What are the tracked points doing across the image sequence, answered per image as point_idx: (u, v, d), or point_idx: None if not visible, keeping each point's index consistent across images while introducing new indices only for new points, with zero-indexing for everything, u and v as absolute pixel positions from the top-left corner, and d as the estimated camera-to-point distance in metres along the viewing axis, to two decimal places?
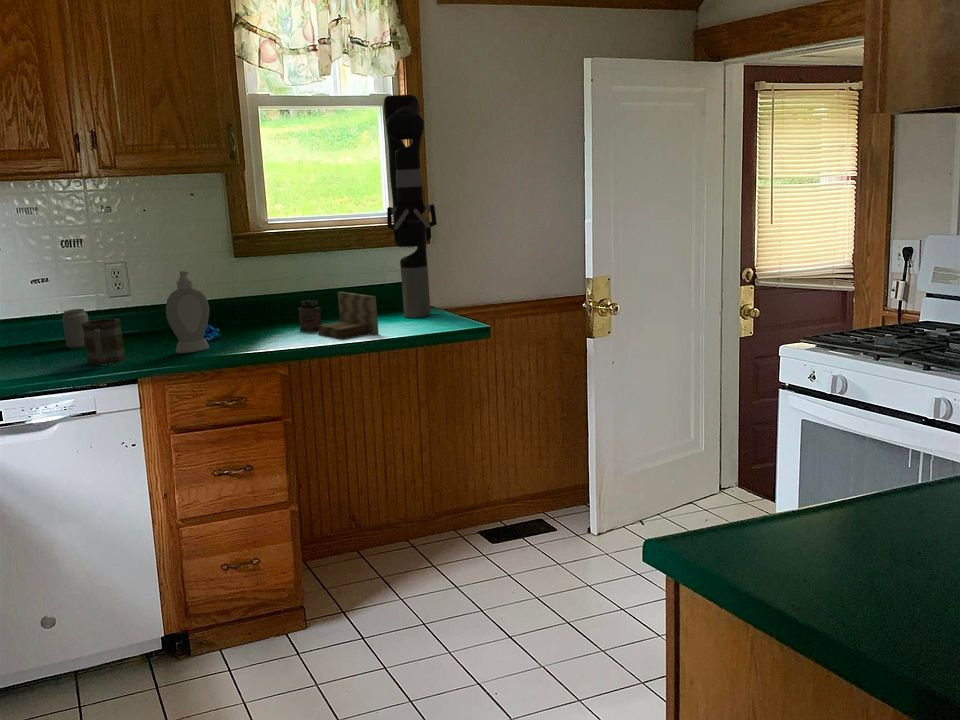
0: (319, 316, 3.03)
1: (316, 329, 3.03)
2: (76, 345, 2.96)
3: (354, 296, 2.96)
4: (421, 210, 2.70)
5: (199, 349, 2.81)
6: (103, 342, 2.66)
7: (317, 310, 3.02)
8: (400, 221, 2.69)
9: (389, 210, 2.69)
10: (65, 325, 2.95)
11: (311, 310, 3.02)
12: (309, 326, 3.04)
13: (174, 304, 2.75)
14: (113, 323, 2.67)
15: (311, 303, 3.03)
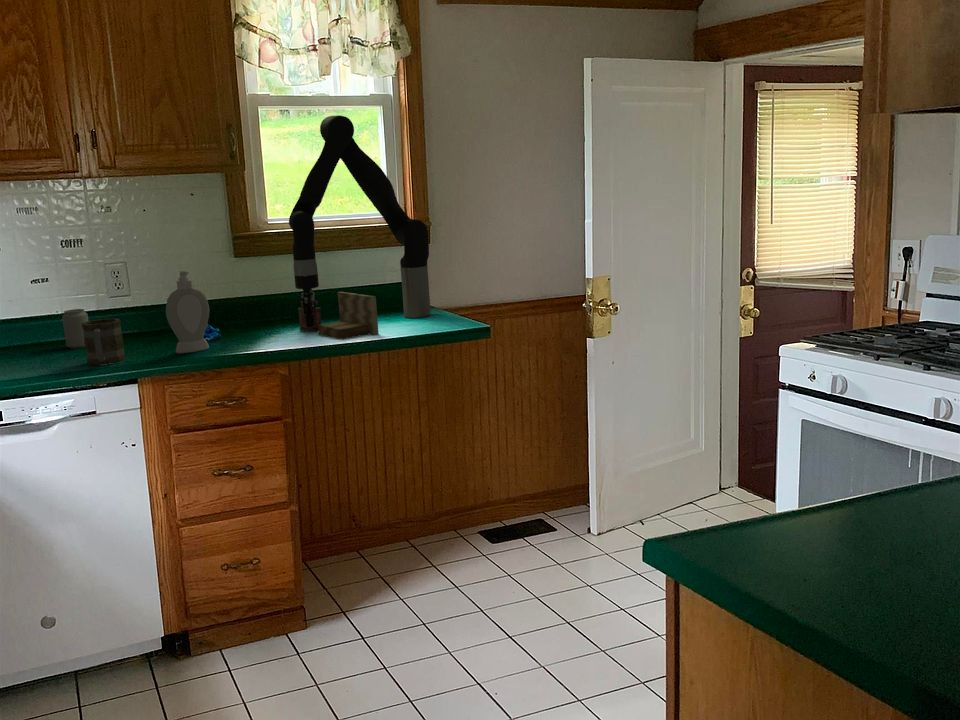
0: (319, 316, 3.03)
1: (316, 329, 3.03)
2: (76, 345, 2.96)
3: (354, 296, 2.96)
4: None
5: (199, 349, 2.81)
6: (103, 342, 2.66)
7: (317, 310, 3.02)
8: (313, 306, 3.02)
9: (310, 299, 2.97)
10: (65, 325, 2.95)
11: None
12: None
13: (174, 304, 2.75)
14: (113, 323, 2.67)
15: None
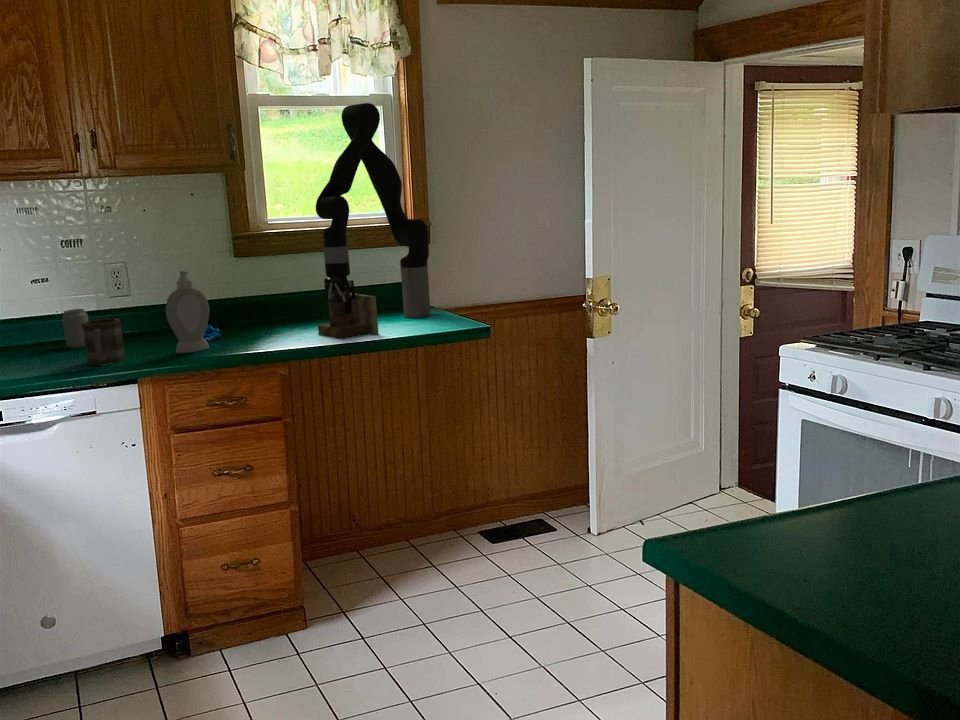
0: None
1: (351, 322, 2.94)
2: (76, 345, 2.96)
3: None
4: None
5: (199, 349, 2.81)
6: (103, 342, 2.66)
7: (352, 302, 2.93)
8: None
9: None
10: (65, 325, 2.95)
11: None
12: (343, 320, 2.93)
13: (174, 304, 2.75)
14: (113, 323, 2.67)
15: None
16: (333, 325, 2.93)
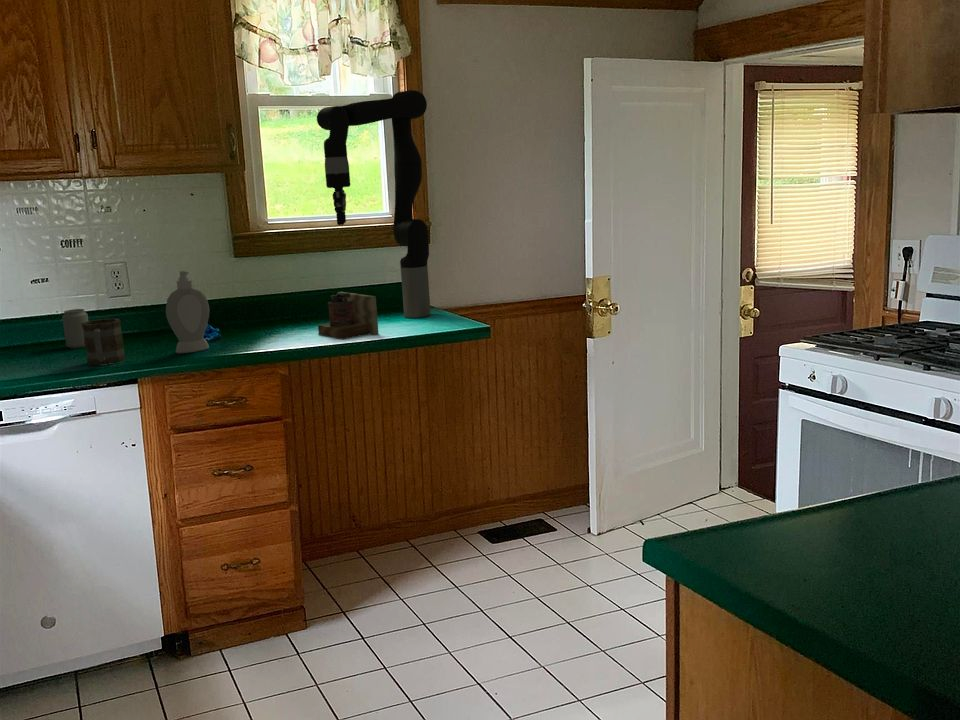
0: None
1: (351, 322, 2.94)
2: (76, 345, 2.96)
3: (354, 296, 2.96)
4: None
5: (199, 349, 2.81)
6: (103, 342, 2.66)
7: (352, 302, 2.93)
8: (344, 204, 2.92)
9: (341, 194, 2.88)
10: (65, 325, 2.95)
11: (346, 303, 2.92)
12: (343, 320, 2.93)
13: (174, 304, 2.75)
14: (113, 323, 2.67)
15: (344, 296, 2.93)
16: (333, 325, 2.93)
